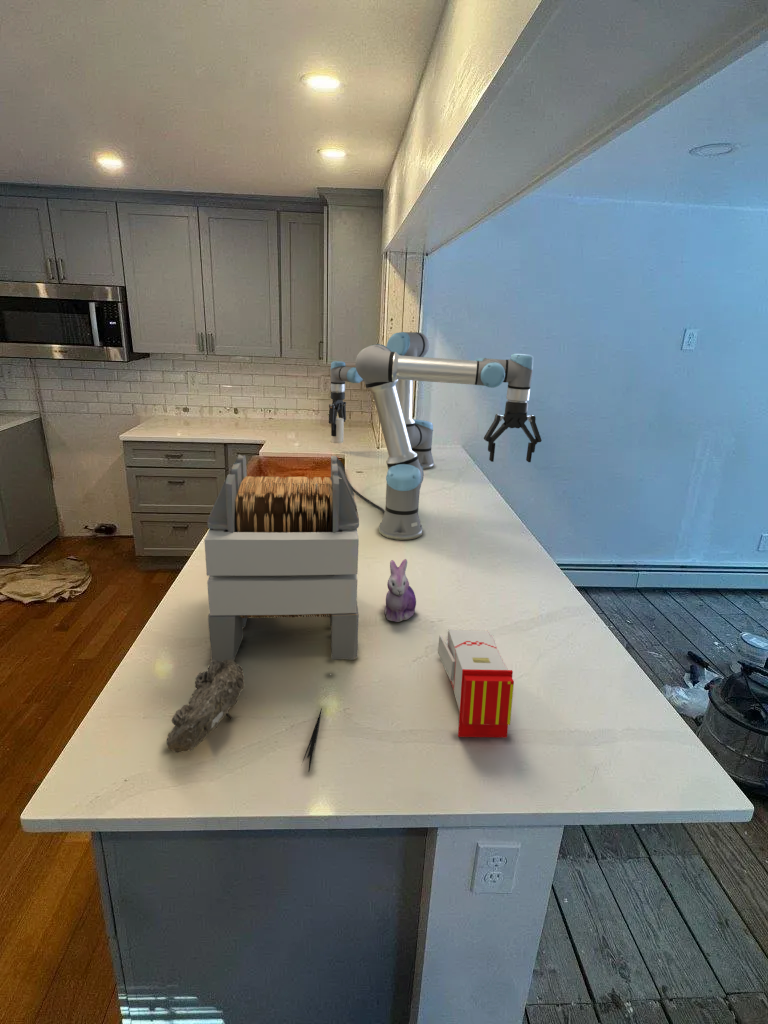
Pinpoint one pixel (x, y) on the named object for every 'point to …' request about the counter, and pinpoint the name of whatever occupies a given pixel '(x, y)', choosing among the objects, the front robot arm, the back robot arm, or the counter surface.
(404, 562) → the figurine
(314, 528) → the record crate
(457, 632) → the toy
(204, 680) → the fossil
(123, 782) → the counter surface
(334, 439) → the canister
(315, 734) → the feather
